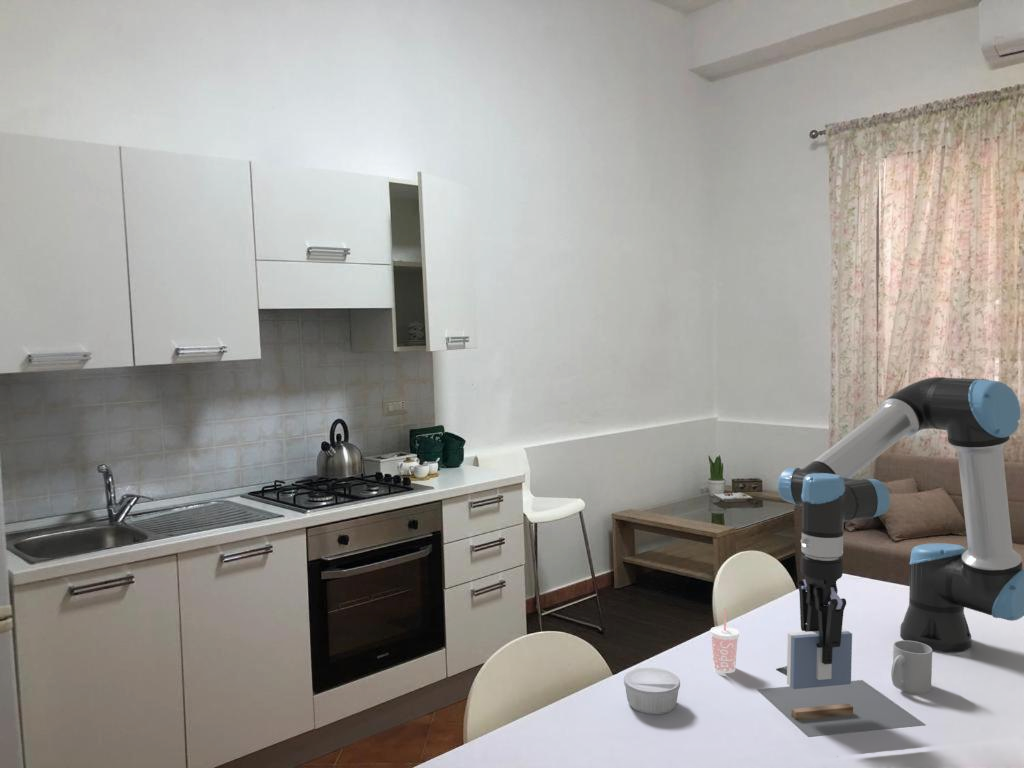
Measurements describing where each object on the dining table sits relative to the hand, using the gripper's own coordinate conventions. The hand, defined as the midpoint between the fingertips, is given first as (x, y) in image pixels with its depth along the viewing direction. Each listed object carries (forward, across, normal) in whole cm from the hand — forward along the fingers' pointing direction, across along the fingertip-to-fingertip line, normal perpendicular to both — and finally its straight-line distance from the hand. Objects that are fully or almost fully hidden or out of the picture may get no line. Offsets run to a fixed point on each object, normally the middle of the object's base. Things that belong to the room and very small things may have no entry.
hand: (819, 674), depth 158 cm
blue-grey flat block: (+2, 0, 0) cm, 2 cm away
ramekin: (+8, -11, -30) cm, 33 cm away
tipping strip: (+8, +1, 0) cm, 8 cm away
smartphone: (+9, -19, +10) cm, 23 cm away
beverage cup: (+8, -23, -9) cm, 26 cm away
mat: (+8, -2, +5) cm, 10 cm away
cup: (+8, -7, +24) cm, 26 cm away
